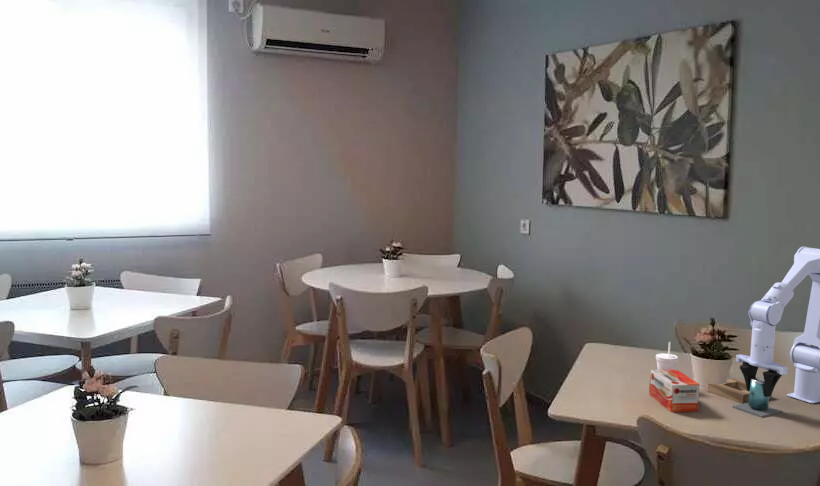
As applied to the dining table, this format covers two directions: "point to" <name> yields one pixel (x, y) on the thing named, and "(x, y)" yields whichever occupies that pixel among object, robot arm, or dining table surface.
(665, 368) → the smoothie
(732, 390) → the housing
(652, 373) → the medicine box
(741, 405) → the mat
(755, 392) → the teal can
